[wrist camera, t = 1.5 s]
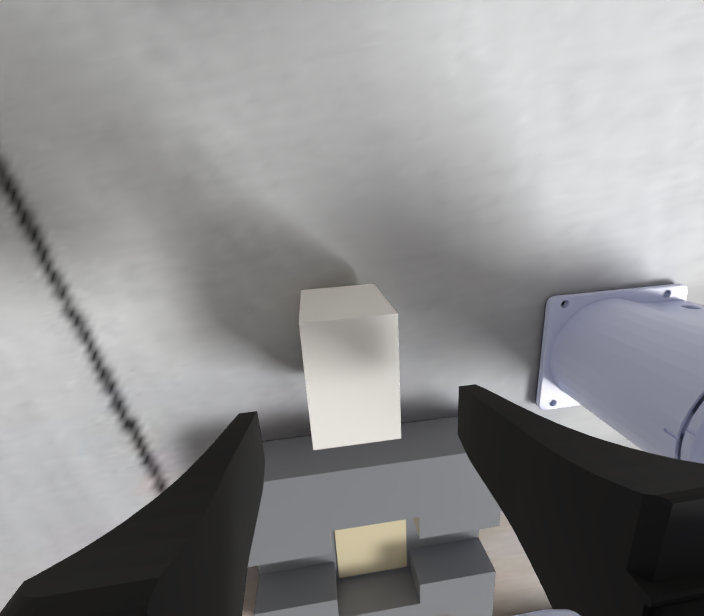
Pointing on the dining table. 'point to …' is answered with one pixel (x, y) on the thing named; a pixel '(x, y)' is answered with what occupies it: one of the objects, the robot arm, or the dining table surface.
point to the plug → (350, 365)
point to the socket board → (374, 528)
